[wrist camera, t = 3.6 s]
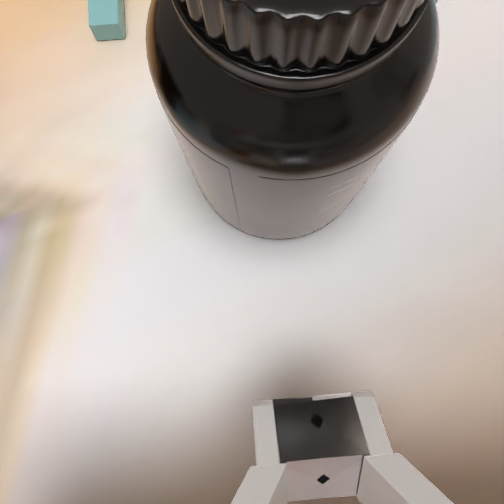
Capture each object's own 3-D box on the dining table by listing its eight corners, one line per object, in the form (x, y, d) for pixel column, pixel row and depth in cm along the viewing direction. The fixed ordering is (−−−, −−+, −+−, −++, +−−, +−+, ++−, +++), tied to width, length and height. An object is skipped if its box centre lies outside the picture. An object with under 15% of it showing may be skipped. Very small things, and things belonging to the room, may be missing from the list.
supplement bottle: (338, 70, 19) (477, -339, 7) (376, 223, 18) (611, 40, 6) (179, 100, 19) (55, -270, 7) (209, 257, 18) (123, 134, 6)
